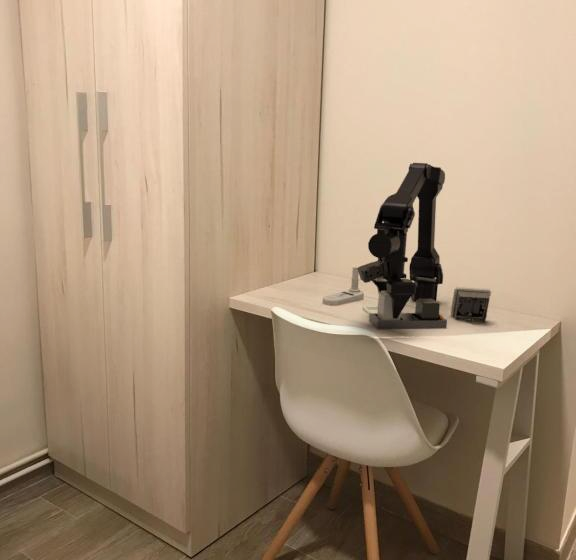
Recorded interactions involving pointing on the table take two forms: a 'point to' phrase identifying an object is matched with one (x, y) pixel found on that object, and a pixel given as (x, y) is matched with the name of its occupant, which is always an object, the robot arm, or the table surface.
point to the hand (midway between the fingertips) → (389, 313)
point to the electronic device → (346, 293)
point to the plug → (385, 307)
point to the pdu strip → (414, 317)
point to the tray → (370, 309)
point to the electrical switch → (470, 304)
